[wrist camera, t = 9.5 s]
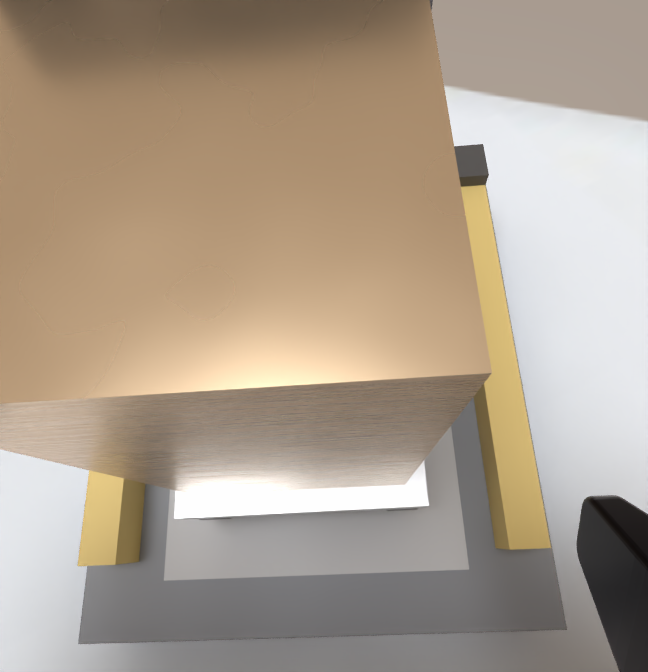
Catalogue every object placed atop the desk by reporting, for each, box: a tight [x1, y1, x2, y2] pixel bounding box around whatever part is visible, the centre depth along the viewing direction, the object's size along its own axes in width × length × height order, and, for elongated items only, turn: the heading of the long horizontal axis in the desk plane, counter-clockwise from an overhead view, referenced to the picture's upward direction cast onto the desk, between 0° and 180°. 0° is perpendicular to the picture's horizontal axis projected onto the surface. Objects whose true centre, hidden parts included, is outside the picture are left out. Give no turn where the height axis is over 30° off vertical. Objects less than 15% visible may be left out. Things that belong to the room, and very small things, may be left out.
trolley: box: [0, 0, 492, 520], centre depth 10 cm, size 7×6×14 cm
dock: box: [78, 144, 567, 644], centre depth 17 cm, size 14×13×4 cm
